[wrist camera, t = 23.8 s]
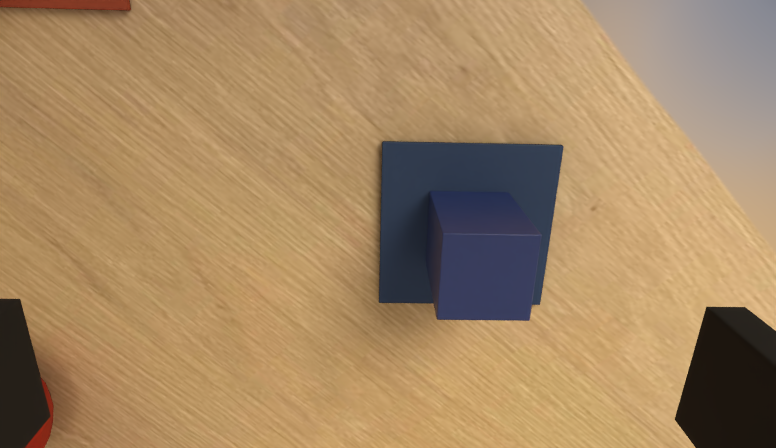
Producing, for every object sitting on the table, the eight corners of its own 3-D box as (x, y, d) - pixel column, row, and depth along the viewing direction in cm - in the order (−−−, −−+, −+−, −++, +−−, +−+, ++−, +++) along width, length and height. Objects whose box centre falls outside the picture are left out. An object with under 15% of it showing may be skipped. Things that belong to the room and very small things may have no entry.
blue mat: (382, 141, 32) (382, 142, 31) (561, 144, 32) (563, 146, 32) (379, 300, 36) (379, 303, 35) (538, 302, 36) (540, 304, 36)
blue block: (429, 190, 32) (442, 233, 26) (509, 192, 33) (542, 234, 26) (425, 263, 34) (436, 320, 28) (500, 264, 34) (529, 321, 28)
